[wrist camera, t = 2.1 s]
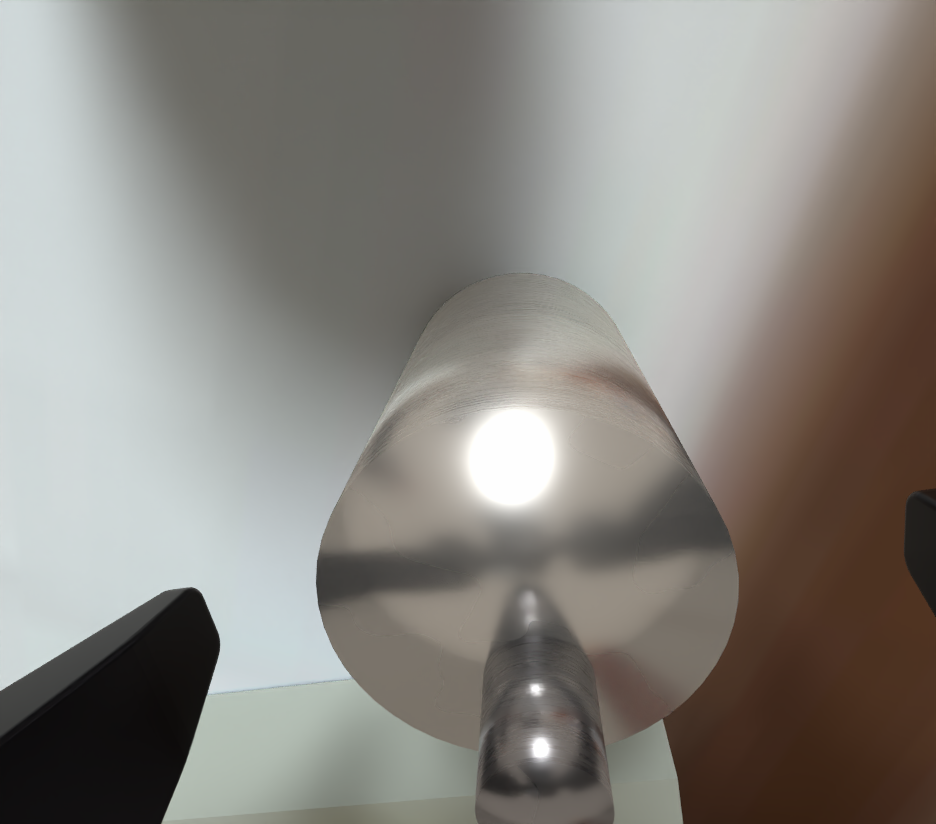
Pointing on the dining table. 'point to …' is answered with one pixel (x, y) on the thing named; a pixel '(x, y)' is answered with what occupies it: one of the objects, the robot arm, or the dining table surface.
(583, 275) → the dining table surface
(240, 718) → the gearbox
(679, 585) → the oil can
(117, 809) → the robot arm
